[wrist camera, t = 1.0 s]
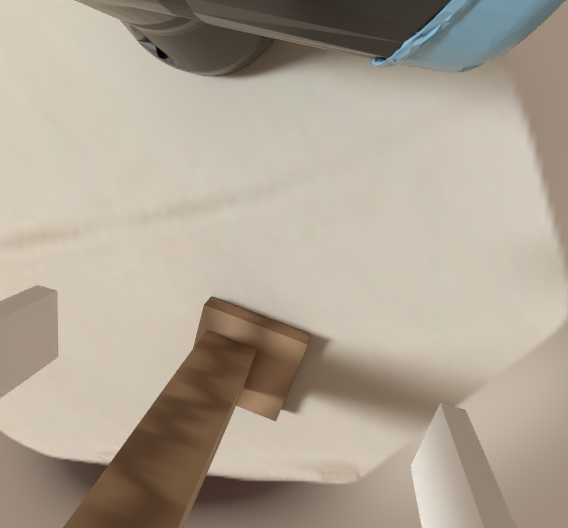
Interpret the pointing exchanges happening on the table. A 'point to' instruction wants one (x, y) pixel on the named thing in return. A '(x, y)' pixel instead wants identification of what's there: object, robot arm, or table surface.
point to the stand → (194, 419)
